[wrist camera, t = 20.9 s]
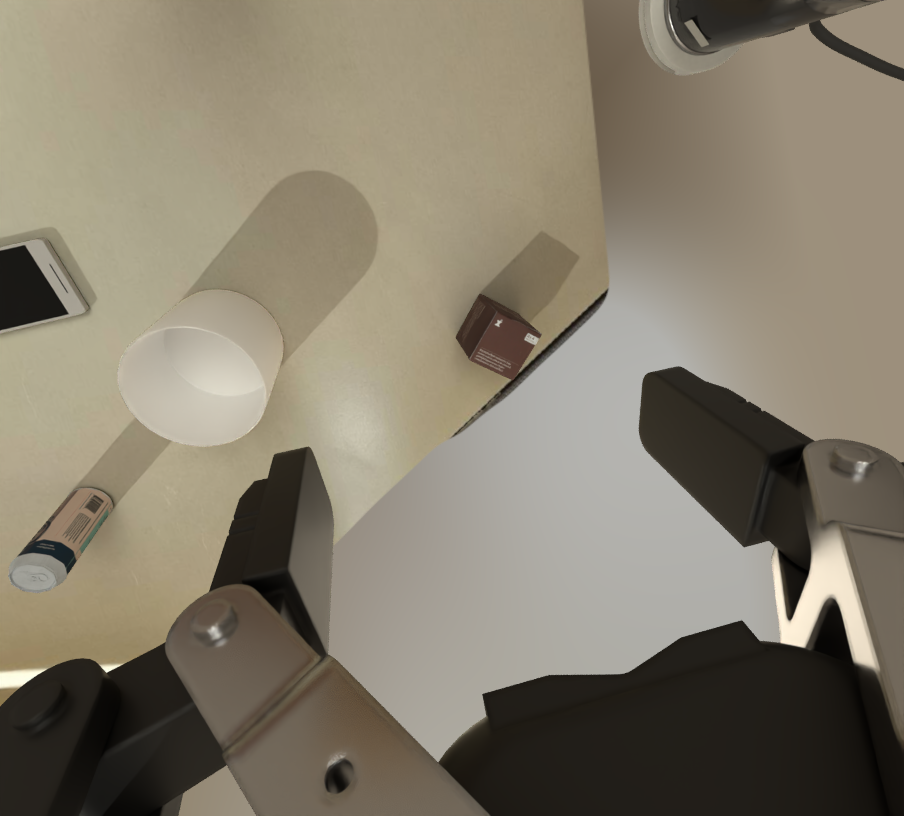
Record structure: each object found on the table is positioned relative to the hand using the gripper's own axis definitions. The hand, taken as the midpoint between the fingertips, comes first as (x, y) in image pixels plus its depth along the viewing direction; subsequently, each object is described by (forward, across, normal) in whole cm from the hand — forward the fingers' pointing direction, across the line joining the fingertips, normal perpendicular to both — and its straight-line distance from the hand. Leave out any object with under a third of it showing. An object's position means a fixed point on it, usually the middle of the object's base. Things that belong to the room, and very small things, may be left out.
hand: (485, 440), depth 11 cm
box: (+42, -10, +13) cm, 45 cm away
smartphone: (+42, +38, 0) cm, 57 cm away
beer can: (+42, +41, +25) cm, 64 cm away
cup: (+42, +19, +9) cm, 47 cm away
